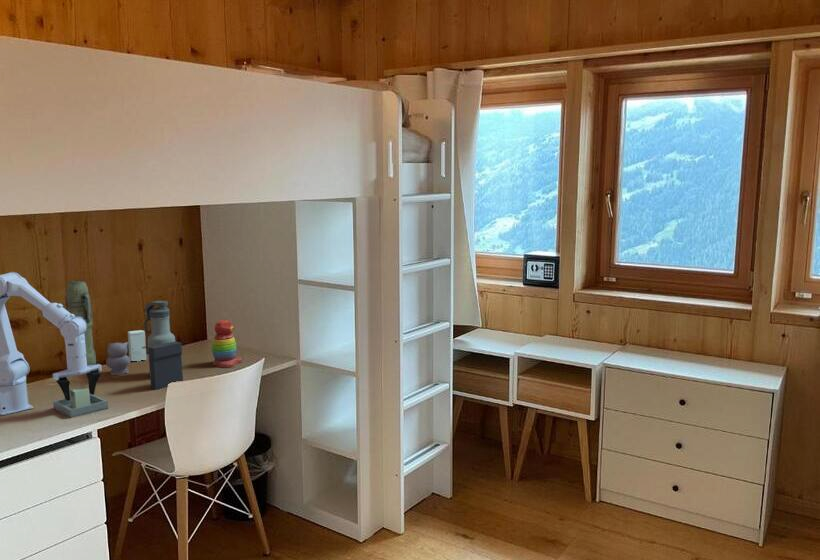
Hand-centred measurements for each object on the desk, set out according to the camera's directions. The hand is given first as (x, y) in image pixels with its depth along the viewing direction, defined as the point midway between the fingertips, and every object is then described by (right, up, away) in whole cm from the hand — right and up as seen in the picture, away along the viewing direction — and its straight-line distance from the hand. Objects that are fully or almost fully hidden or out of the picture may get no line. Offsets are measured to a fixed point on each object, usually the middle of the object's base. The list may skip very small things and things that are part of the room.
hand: (79, 396), depth 222 cm
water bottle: (+13, +2, +38) cm, 41 cm away
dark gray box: (+19, 0, +25) cm, 31 cm away
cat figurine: (-5, +2, +41) cm, 41 cm away
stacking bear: (+33, +4, +52) cm, 62 cm away
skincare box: (-5, +5, +60) cm, 60 cm away
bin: (0, -4, +1) cm, 4 cm away
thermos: (-20, +2, +46) cm, 50 cm away
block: (0, -3, +1) cm, 3 cm away
